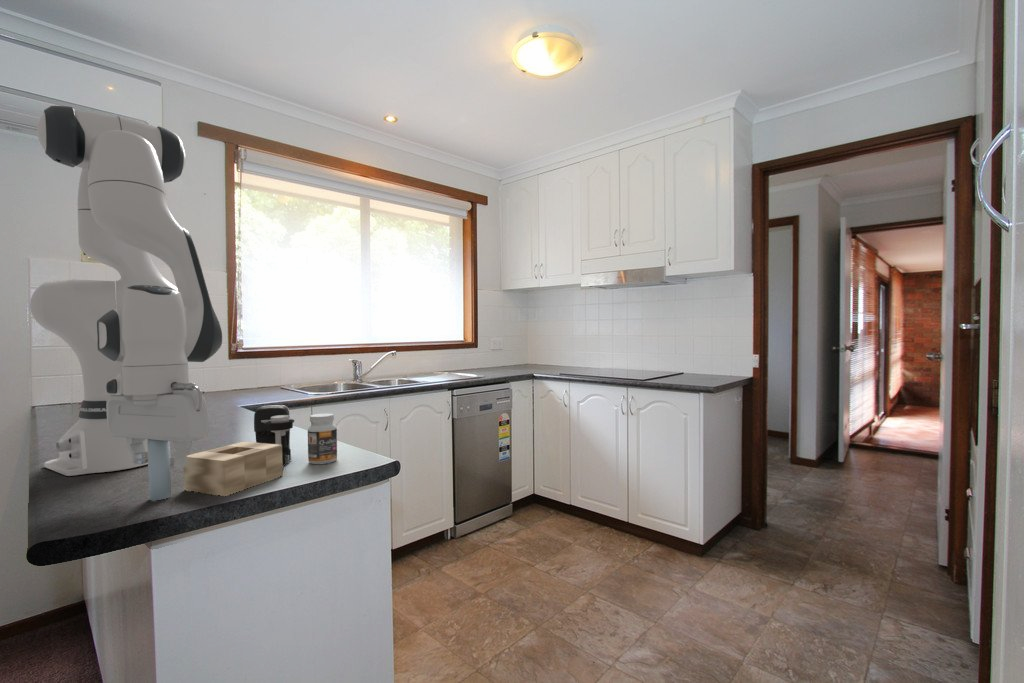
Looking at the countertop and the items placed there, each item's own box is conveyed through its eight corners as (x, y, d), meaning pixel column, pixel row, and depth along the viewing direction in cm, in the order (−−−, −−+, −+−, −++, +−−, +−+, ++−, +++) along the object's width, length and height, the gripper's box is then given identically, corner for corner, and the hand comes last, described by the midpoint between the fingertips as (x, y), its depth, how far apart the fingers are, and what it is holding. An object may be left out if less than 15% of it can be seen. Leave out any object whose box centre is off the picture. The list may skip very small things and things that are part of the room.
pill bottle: (323, 466, 98) (322, 417, 98) (302, 463, 100) (301, 416, 100) (343, 459, 103) (342, 413, 103) (322, 457, 106) (321, 412, 105)
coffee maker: (253, 461, 103) (251, 408, 102) (257, 457, 106) (255, 405, 106) (288, 458, 105) (287, 406, 105) (291, 454, 108) (290, 404, 108)
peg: (144, 500, 79) (143, 439, 79) (163, 494, 82) (161, 436, 82) (157, 502, 78) (155, 441, 78) (175, 496, 81) (173, 437, 81)
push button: (288, 468, 97) (287, 419, 97) (260, 470, 96) (259, 420, 96) (298, 460, 103) (297, 413, 103) (272, 461, 103) (271, 414, 102)
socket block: (184, 490, 84) (183, 456, 84) (244, 471, 95) (243, 441, 95) (225, 496, 80) (224, 460, 80) (282, 476, 92) (282, 444, 91)
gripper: (218, 381, 79) (221, 465, 79) (137, 380, 86) (140, 457, 86) (180, 384, 73) (183, 475, 73) (96, 383, 80) (99, 466, 80)
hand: (159, 465), depth 80 cm, fingers open, 8 cm apart
